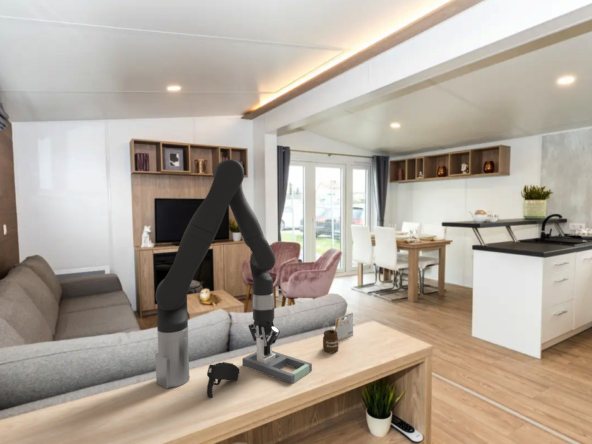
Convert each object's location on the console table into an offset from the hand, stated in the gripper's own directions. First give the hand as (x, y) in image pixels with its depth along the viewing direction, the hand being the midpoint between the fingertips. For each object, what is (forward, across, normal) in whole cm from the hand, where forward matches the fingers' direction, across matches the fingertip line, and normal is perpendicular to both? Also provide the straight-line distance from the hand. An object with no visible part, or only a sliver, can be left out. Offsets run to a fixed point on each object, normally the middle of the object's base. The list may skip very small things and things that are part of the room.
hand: (264, 354), depth 125 cm
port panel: (+3, +6, 0) cm, 7 cm away
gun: (+4, +1, -19) cm, 19 cm away
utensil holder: (+4, +13, +24) cm, 27 cm away
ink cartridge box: (+4, +10, +38) cm, 39 cm away
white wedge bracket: (+4, +1, 0) cm, 4 cm away
